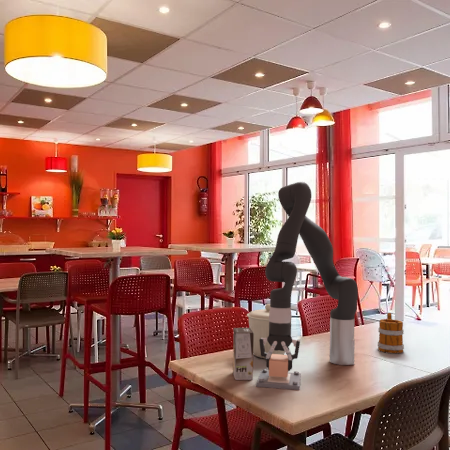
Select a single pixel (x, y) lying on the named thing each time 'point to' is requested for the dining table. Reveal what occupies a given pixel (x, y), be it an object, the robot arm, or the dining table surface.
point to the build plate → (279, 380)
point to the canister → (261, 330)
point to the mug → (390, 335)
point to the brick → (278, 365)
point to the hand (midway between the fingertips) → (279, 369)
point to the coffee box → (243, 353)
